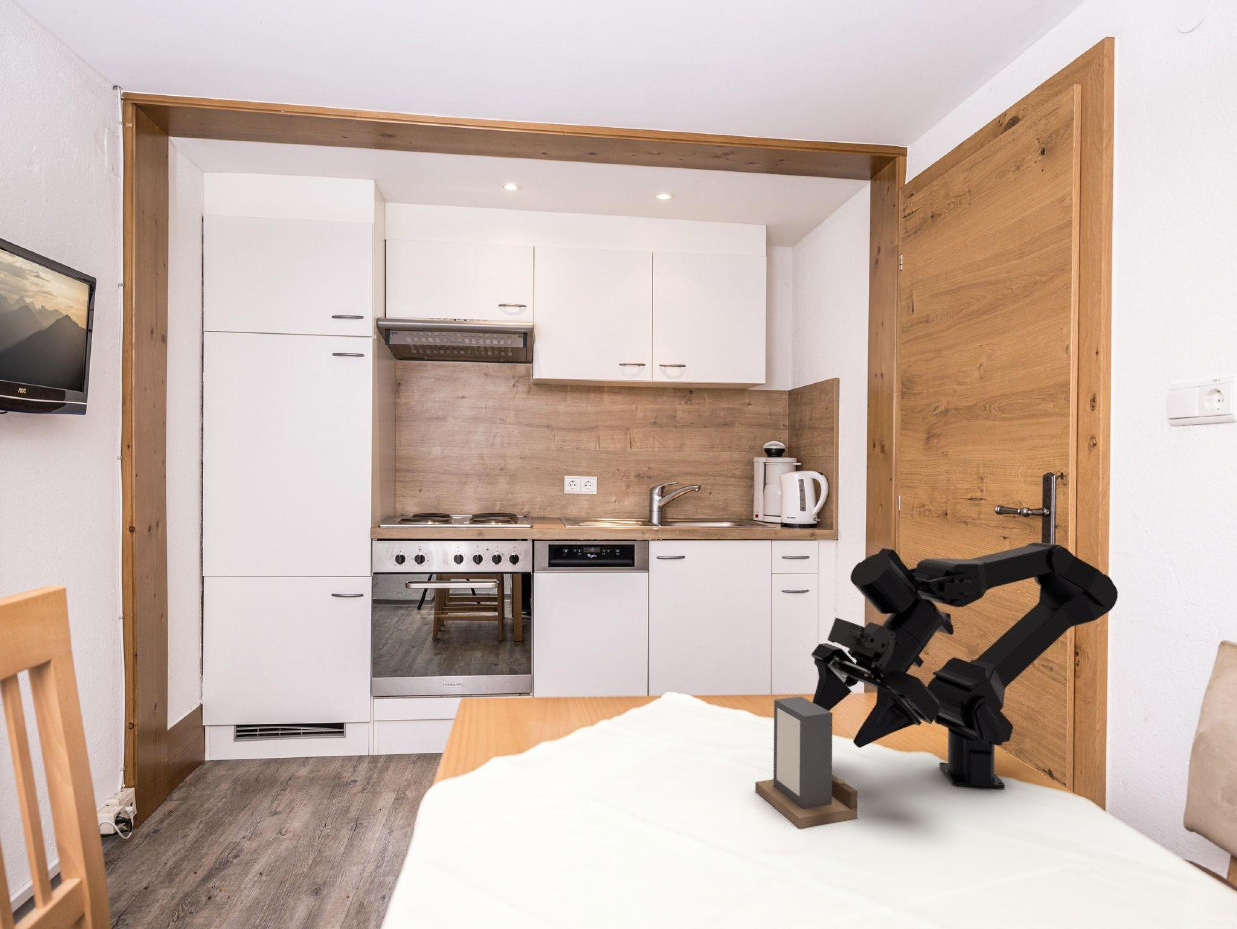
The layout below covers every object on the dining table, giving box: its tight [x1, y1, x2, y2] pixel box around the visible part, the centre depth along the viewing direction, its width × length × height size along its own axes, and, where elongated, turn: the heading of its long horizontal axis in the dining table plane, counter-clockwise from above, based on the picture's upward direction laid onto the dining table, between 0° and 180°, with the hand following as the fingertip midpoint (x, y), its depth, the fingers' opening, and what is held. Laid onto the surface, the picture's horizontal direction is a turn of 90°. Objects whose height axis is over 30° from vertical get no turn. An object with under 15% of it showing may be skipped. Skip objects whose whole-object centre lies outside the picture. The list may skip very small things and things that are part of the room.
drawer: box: [754, 774, 858, 829], centre depth 87 cm, size 8×10×4 cm
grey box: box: [773, 696, 833, 809], centre depth 87 cm, size 4×6×11 cm, turn 20°
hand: (832, 731), depth 89 cm, fingers open, 9 cm apart
